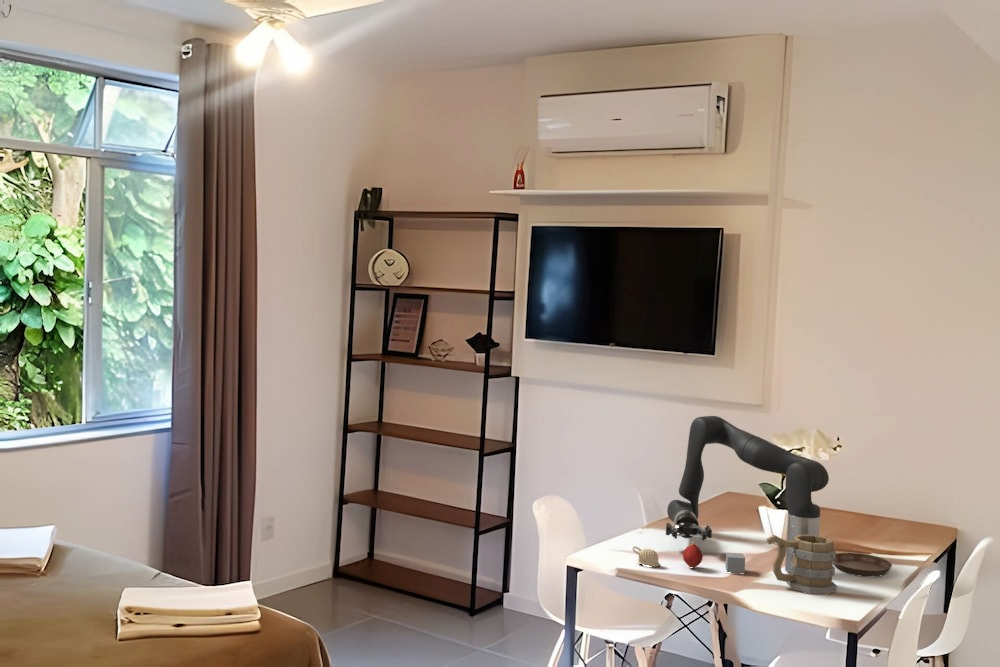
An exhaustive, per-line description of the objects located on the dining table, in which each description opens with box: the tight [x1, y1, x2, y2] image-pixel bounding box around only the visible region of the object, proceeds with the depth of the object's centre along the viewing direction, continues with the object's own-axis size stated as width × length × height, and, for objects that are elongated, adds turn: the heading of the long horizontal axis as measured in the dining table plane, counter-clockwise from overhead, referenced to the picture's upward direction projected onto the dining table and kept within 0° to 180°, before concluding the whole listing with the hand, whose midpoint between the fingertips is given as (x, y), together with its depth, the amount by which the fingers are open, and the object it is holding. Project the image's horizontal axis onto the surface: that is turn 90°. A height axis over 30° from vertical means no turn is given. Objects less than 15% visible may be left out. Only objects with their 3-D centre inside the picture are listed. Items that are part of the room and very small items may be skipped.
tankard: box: [765, 534, 838, 595], centre depth 278 cm, size 20×13×15 cm, turn 92°
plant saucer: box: [833, 552, 893, 577], centre depth 298 cm, size 18×18×3 cm
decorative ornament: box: [632, 546, 661, 567], centre depth 295 cm, size 4×8×5 cm, turn 65°
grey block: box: [724, 552, 746, 573], centre depth 292 cm, size 5×5×5 cm
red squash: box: [682, 541, 704, 569], centre depth 294 cm, size 6×6×8 cm
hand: (689, 536), depth 305 cm, fingers open, 8 cm apart
